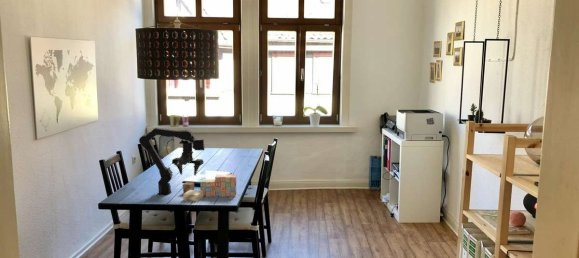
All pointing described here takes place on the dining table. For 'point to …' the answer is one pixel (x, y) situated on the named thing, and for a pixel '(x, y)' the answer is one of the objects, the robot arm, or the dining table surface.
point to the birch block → (193, 195)
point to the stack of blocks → (219, 185)
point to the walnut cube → (188, 186)
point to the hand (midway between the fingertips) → (188, 175)
